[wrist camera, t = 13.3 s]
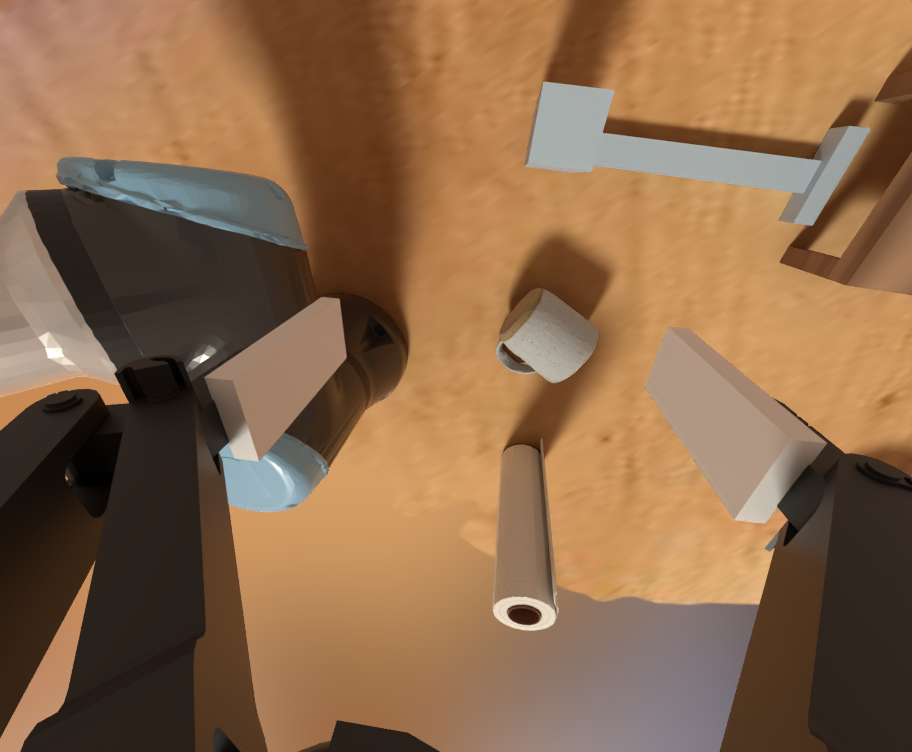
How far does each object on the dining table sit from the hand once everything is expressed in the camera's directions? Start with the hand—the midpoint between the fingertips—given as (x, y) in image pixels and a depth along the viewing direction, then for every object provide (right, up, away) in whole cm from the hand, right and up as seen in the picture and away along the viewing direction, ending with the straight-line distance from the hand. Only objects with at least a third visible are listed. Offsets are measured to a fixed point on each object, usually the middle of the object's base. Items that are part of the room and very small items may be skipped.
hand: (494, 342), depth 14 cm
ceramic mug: (+8, +4, +27) cm, 28 cm away
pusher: (+18, +18, +17) cm, 30 cm away
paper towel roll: (+9, -13, +37) cm, 40 cm away
